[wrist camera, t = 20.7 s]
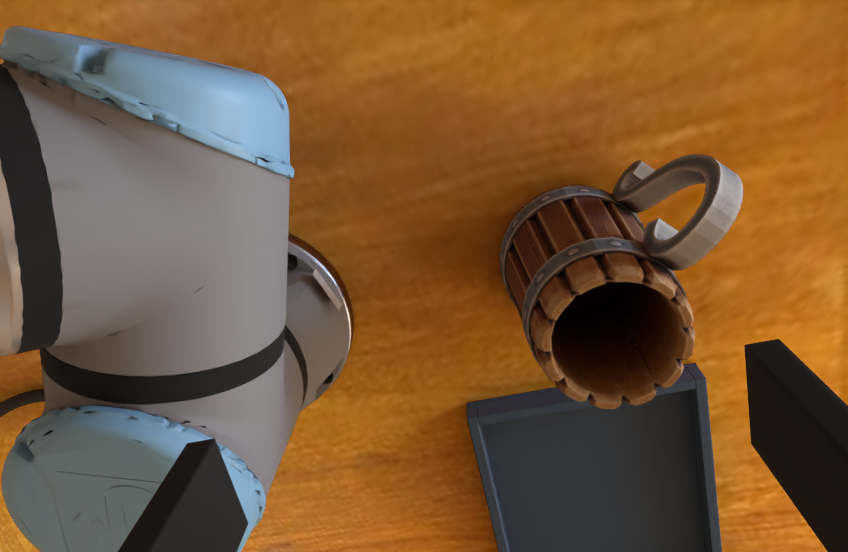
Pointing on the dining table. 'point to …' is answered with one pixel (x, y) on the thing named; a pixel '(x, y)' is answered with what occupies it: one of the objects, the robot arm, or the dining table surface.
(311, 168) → the dining table surface
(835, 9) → the dining table surface
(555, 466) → the tray
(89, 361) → the robot arm
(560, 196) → the mug
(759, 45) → the dining table surface
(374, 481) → the dining table surface
